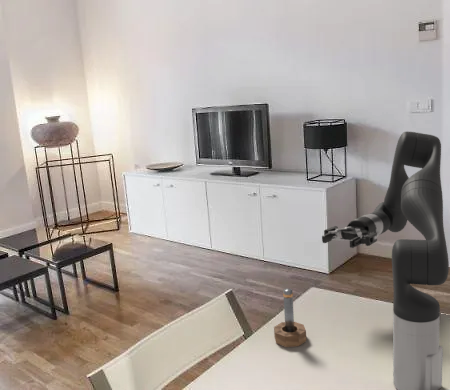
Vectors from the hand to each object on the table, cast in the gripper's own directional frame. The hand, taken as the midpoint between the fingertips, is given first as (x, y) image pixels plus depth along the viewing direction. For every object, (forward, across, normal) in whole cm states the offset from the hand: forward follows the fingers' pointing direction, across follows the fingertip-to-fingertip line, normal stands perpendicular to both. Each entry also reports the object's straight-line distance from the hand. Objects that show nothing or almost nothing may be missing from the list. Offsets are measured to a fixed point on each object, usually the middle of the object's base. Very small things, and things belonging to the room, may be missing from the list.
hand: (336, 241), depth 134 cm
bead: (+16, -5, +24) cm, 29 cm away
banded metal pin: (+16, -5, +24) cm, 29 cm away
